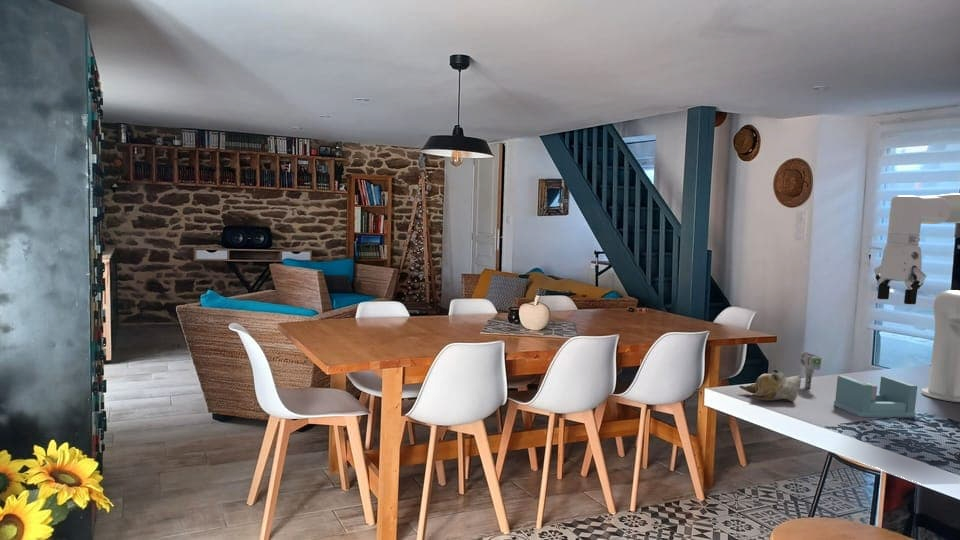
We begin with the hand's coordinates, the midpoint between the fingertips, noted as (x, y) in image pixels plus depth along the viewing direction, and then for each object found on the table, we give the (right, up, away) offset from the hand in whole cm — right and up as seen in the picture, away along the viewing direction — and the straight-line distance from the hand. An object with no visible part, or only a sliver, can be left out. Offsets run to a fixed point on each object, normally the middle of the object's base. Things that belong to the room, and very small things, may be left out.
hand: (896, 301), depth 188 cm
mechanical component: (-19, -27, +13) cm, 35 cm away
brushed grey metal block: (-15, -27, -10) cm, 33 cm away
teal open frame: (-12, -29, -9) cm, 32 cm away
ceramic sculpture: (-36, -27, -3) cm, 45 cm away
